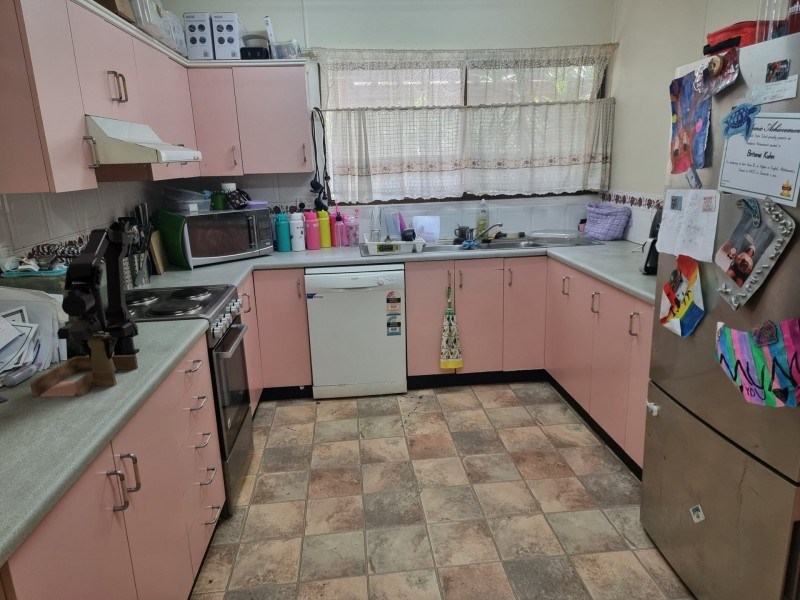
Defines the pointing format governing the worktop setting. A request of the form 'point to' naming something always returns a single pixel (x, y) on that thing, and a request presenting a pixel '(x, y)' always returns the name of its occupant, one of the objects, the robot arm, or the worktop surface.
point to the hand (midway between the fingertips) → (101, 359)
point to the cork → (99, 355)
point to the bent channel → (86, 381)
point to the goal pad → (62, 389)
